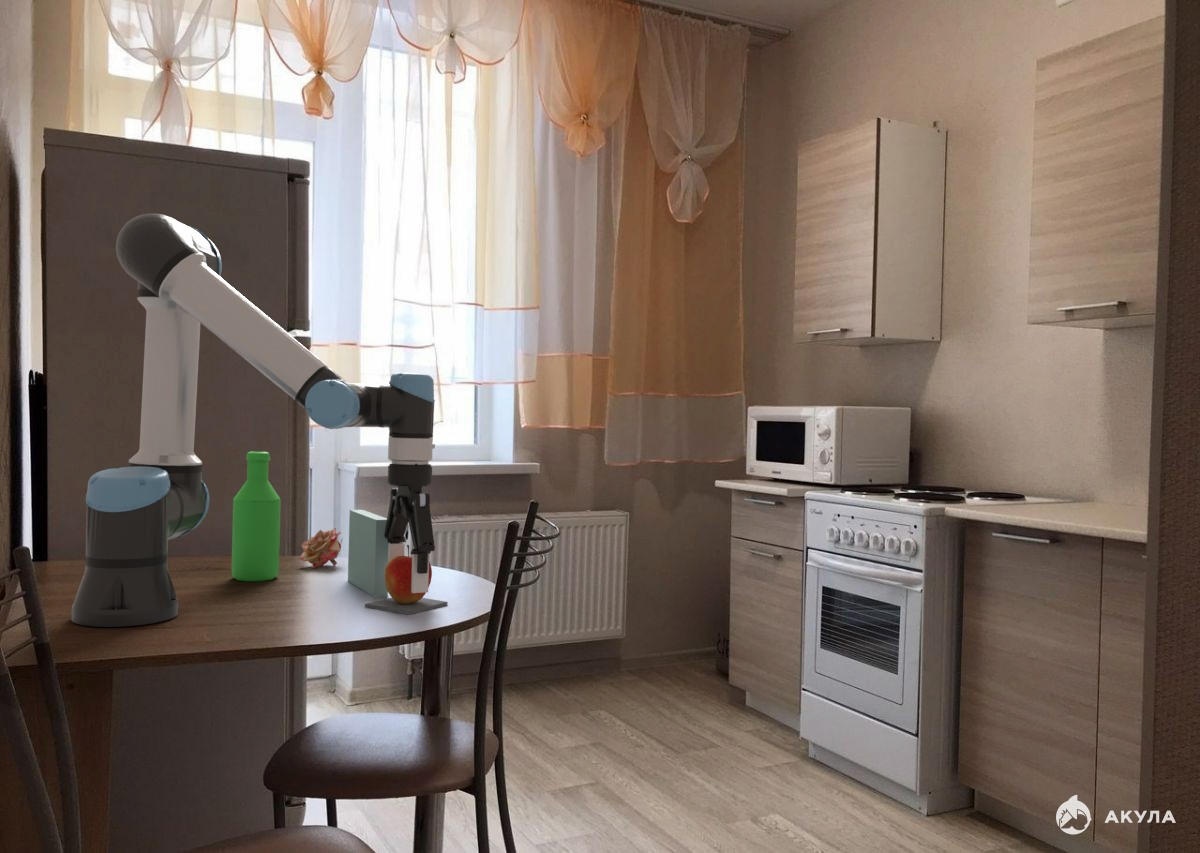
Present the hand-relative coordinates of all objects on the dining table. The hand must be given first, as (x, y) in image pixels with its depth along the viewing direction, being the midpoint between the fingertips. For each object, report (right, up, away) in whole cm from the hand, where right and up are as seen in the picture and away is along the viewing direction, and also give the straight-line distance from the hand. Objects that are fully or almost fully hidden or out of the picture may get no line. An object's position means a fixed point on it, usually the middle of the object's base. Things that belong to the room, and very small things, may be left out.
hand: (407, 586), depth 168 cm
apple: (0, -3, 0) cm, 3 cm away
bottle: (-35, -2, +23) cm, 41 cm away
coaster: (0, -4, 0) cm, 4 cm away
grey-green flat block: (-11, -3, +16) cm, 19 cm away
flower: (-26, -3, +39) cm, 47 cm away
